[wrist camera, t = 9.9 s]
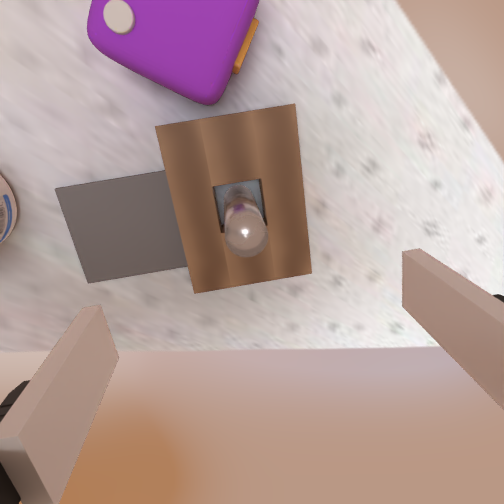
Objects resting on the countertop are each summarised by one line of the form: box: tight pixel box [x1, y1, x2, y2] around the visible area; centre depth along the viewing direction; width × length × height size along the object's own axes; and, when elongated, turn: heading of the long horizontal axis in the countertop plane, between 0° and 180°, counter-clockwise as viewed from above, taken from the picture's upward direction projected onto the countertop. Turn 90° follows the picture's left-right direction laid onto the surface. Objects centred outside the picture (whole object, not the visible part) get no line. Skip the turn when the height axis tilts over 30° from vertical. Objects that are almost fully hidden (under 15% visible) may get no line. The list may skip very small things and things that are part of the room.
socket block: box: [155, 104, 312, 294], centre depth 34 cm, size 12×16×3 cm
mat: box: [55, 170, 188, 283], centre depth 36 cm, size 12×10×1 cm
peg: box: [224, 185, 268, 257], centre depth 30 cm, size 3×3×12 cm
